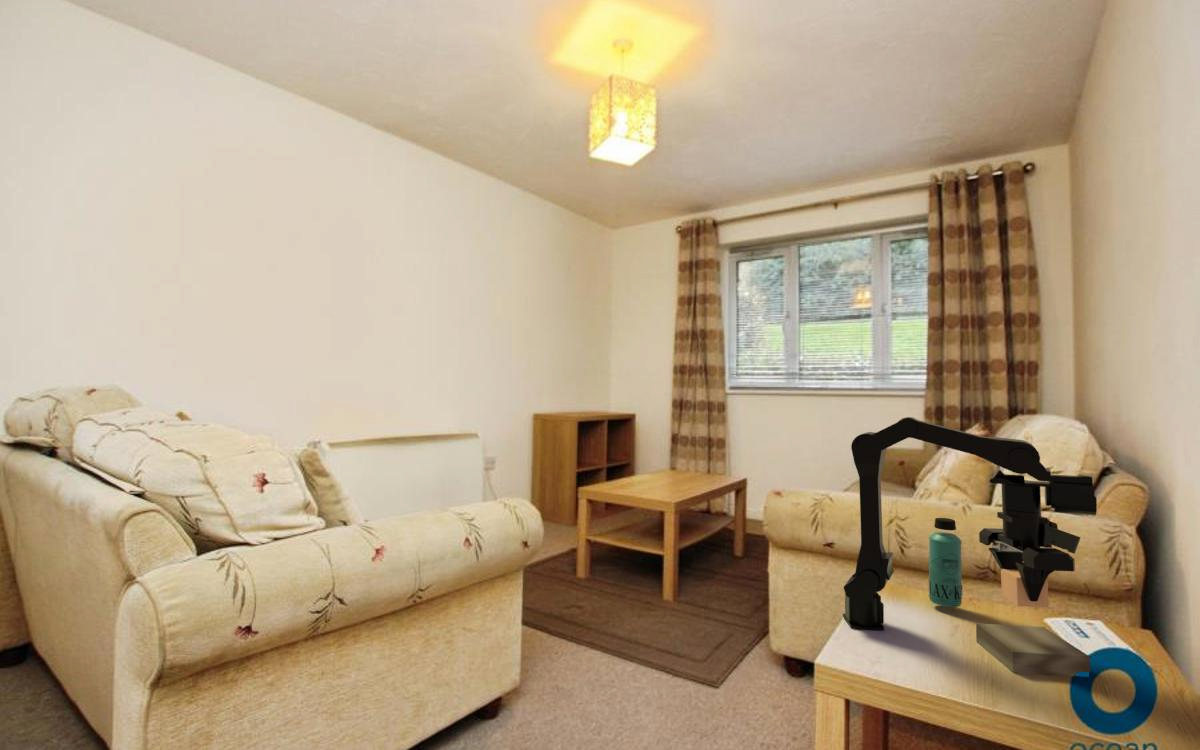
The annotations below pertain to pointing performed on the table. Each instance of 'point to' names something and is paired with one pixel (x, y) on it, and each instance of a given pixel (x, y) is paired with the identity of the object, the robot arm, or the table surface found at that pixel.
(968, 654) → the table surface
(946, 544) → the beverage bottle
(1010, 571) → the terracotta cube
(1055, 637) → the dark box
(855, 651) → the table surface
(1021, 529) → the robot arm
